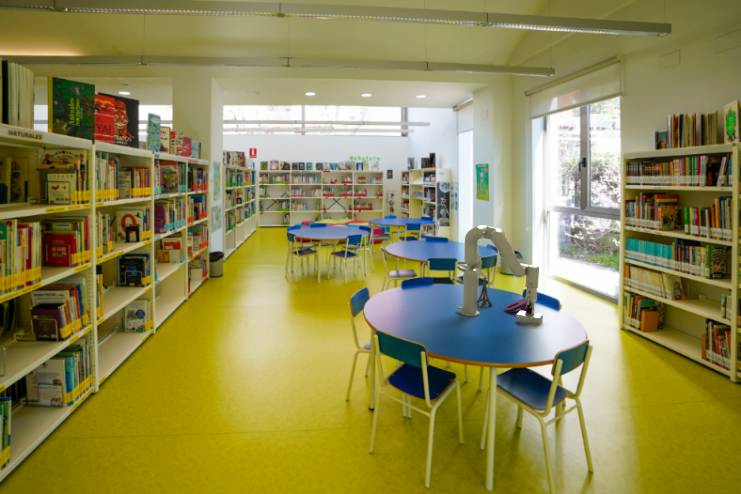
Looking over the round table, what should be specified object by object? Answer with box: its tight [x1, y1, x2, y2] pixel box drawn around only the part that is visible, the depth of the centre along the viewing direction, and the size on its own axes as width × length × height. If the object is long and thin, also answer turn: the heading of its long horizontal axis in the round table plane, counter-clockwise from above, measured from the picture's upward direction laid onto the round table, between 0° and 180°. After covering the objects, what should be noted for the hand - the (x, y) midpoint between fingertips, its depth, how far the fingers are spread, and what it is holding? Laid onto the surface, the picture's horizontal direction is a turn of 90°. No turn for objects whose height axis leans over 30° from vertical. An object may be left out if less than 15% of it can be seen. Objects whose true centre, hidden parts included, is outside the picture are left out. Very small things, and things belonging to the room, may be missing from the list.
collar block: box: [515, 310, 544, 326], centre depth 286 cm, size 14×10×5 cm
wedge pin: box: [526, 302, 536, 316], centre depth 286 cm, size 4×4×10 cm
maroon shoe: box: [504, 296, 527, 313], centre depth 309 cm, size 9×8×18 cm
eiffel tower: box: [477, 276, 495, 309], centre depth 321 cm, size 11×11×25 cm
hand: (529, 312), depth 286 cm, fingers closed on wedge pin, 4 cm apart
